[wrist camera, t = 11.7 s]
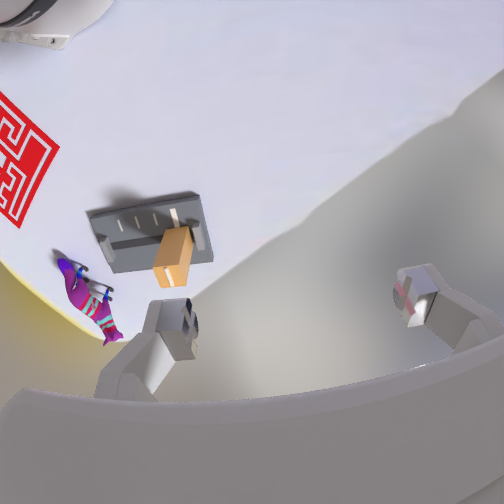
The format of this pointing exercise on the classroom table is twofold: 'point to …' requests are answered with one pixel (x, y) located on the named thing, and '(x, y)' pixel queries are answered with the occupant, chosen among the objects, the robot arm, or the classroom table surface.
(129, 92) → the classroom table surface
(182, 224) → the fader board
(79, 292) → the purple fox figurine
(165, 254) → the fader cap
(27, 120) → the maze puzzle
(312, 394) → the robot arm
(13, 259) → the classroom table surface
